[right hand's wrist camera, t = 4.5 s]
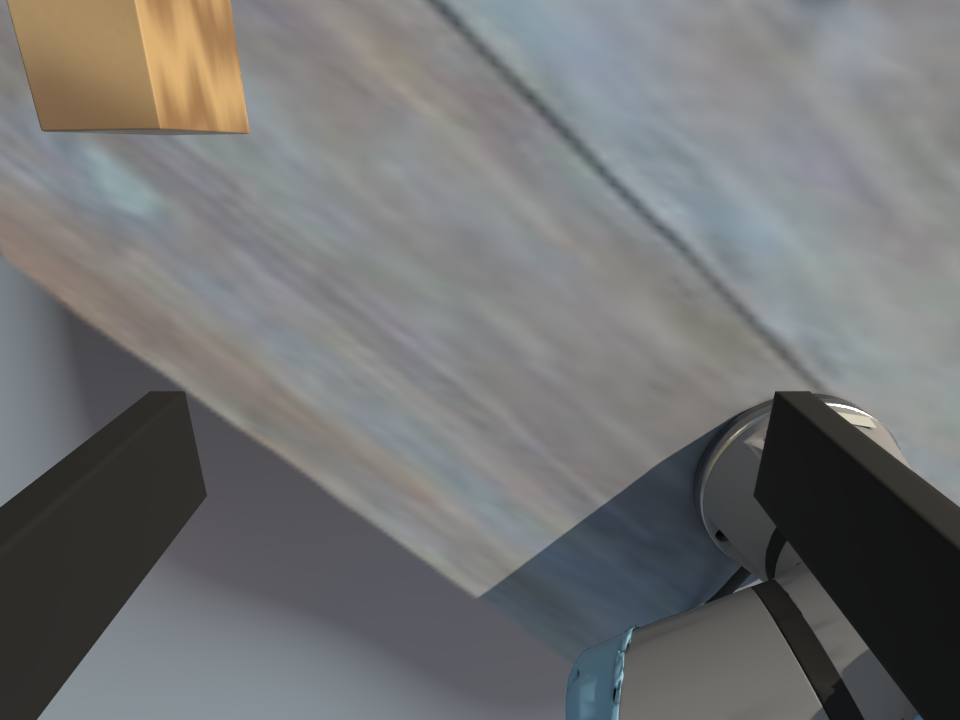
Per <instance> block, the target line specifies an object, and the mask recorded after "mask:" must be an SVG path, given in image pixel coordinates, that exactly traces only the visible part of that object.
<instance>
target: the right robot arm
mask: <svg viewBox="0 0 960 720" xmlns="http://www.w3.org/2000/svg"><path fill="white" fill-rule="evenodd" d="M206 496H207V494H206V489H205V485H204V480H203V476H202V471H201V466H200V461H199V457H198V452H197V447H196V442H195V438H194V433H193V428H192V424H191V419H190V414H189V410H188V405H187V400H186V395H185V391H179V392H178V391H174V392H173V391H163V392H162V391H156V392H155V391H150V392H149V393H148V394H146V395H145V396H144V397H142V398H141V399H140V400H139V401H137V402H136V403H135V404H133V405H132V406H131V407H130V408H128V409H127V410H126V411H124V412H123V413H122V414H120V415H119V416H118V417H117V418H115V419H114V420H113V421H111V422H110V423H109V424H108V425H106V426H105V427H104V428H102V429H101V430H100V431H99V432H97V433H96V434H95V435H93V436H92V437H91V438H89V439H88V440H87V441H86V442H84V443H83V444H82V445H80V446H79V447H78V448H77V449H75V450H74V451H73V452H71V453H70V454H69V455H67V456H66V457H65V458H64V459H62V460H61V461H60V462H58V463H57V464H56V465H55V466H53V467H52V468H51V469H49V470H48V471H47V472H45V473H44V474H43V475H42V476H40V477H39V478H38V479H36V480H35V481H34V482H33V483H31V484H30V485H29V486H27V487H26V488H25V489H24V490H22V491H21V492H20V493H18V494H17V495H16V496H15V497H13V498H12V499H11V500H9V501H8V502H7V503H5V504H4V505H3V506H2V507H0V720H37V719H38V717H39V716H40V715H41V713H42V712H43V711H44V709H45V708H46V707H47V705H48V704H49V703H50V701H51V700H52V699H53V698H54V696H55V695H56V694H57V692H58V691H59V690H60V688H61V687H62V686H63V684H64V683H65V682H66V680H67V679H68V678H69V676H70V675H71V674H72V673H73V671H74V670H75V669H76V667H77V666H78V665H79V663H80V662H81V661H82V659H83V658H84V657H85V655H86V654H87V653H88V651H89V650H90V649H91V648H92V646H93V645H94V644H95V642H96V641H97V640H98V638H99V637H100V636H101V634H102V633H103V632H104V630H105V629H106V628H107V626H108V625H109V624H110V623H111V621H112V620H113V619H114V617H115V616H116V615H117V613H118V612H119V611H120V609H121V608H122V607H123V605H124V604H125V603H126V602H127V600H128V599H129V598H130V596H131V595H132V594H133V592H134V591H135V590H136V588H137V587H138V586H139V584H140V583H141V582H142V580H143V579H144V578H145V576H146V575H147V574H148V573H149V571H150V570H151V569H152V567H153V566H154V565H155V563H156V562H157V561H158V559H159V558H160V557H161V555H162V554H163V553H164V552H165V550H166V549H167V548H168V546H169V545H170V544H171V542H172V541H173V540H174V538H175V537H176V536H177V534H178V533H179V532H180V530H181V529H182V528H183V527H184V525H185V524H186V523H187V521H188V520H189V519H190V517H191V516H192V515H193V513H194V512H195V511H196V509H197V508H198V507H199V505H200V504H201V503H202V502H203V500H204V499H205V498H206ZM694 501H695V506H696V509H697V513H698V515H699V517H700V519H701V521H702V523H703V525H704V526H705V528H706V530H707V532H708V533H709V535H710V537H711V538H712V540H713V541H714V543H715V544H716V545H717V546H718V547H719V548H720V549H721V550H722V551H723V552H724V553H725V554H726V555H728V556H729V557H730V558H732V559H733V560H735V561H736V562H737V563H739V564H740V565H742V566H741V567H740V568H739V570H738V571H737V572H736V573H735V574H734V575H733V576H732V577H731V578H730V579H729V580H728V581H727V582H726V584H725V585H724V586H723V587H722V588H721V589H720V590H719V591H718V592H717V593H716V594H715V595H714V596H713V597H712V598H711V599H709V600H708V601H707V602H706V603H705V604H703V605H701V606H698V607H695V608H692V609H690V610H687V611H684V612H681V613H679V614H676V615H673V616H670V617H667V618H665V619H662V620H659V621H656V622H654V623H651V624H648V625H645V626H642V627H640V628H639V627H638V626H636V625H635V626H631V627H629V628H627V629H626V630H625V632H624V634H621V635H619V636H617V637H614V638H612V639H610V640H608V641H605V642H603V643H601V644H599V645H596V646H594V647H592V648H589V649H588V650H586V651H584V652H583V653H582V654H581V655H580V656H579V657H578V658H577V660H576V661H575V663H574V665H573V667H572V669H571V672H570V675H569V679H568V685H567V695H566V720H960V507H958V506H957V505H956V504H955V503H953V502H952V501H951V500H949V499H948V498H947V497H946V496H944V495H943V494H942V493H940V492H939V491H938V490H936V489H935V488H934V487H933V486H931V485H930V484H929V483H927V482H926V481H925V480H924V479H922V478H921V477H920V476H918V475H917V474H916V473H915V472H913V470H912V469H911V467H910V465H909V464H908V462H907V460H906V459H905V457H904V456H903V454H902V453H901V451H900V448H899V446H898V444H897V442H896V440H895V439H894V437H893V435H892V434H891V433H890V432H889V430H888V429H887V428H886V427H885V426H884V425H883V424H881V423H880V422H879V421H878V420H876V419H875V418H873V417H872V416H871V415H869V414H868V413H866V412H865V411H863V410H862V409H861V408H859V407H857V406H856V405H854V404H852V403H850V402H848V401H845V400H843V399H840V398H837V397H833V396H828V395H822V394H812V393H811V392H810V391H775V395H774V399H772V400H769V401H767V402H764V403H762V404H759V405H757V406H755V407H753V408H751V409H749V410H747V411H745V412H744V413H742V414H741V415H739V416H738V417H736V418H735V419H734V420H732V421H731V422H730V423H729V424H728V425H726V426H725V427H724V428H723V429H722V430H721V431H720V432H719V433H718V434H717V435H716V436H715V438H714V439H713V440H712V442H711V443H710V444H709V446H708V447H707V449H706V450H705V452H704V454H703V456H702V458H701V460H700V463H699V465H698V468H697V471H696V475H695V481H694ZM751 573H752V574H754V575H755V576H756V577H758V578H759V579H760V580H762V581H763V583H760V584H758V585H755V586H752V587H748V588H745V589H743V590H740V591H738V592H735V593H733V592H734V591H735V590H736V589H737V588H738V587H739V586H740V585H741V584H742V583H743V582H744V581H745V580H746V579H747V578H748V576H749V575H750V574H751ZM732 593H733V594H732Z"/></svg>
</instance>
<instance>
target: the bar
mask: <svg viewBox="0 0 960 720" xmlns="http://www.w3.org/2000/svg"><path fill="white" fill-rule="evenodd" d="M7 4H8V8H9V12H10V15H11V19H12V23H13V26H14V30H15V34H16V38H17V41H18V45H19V49H20V52H21V56H22V60H23V63H24V67H25V71H26V75H27V78H28V82H29V86H30V89H31V93H32V97H33V101H34V104H35V108H36V112H37V115H38V119H39V123H40V127H41V130H42V131H45V132H77V133H109V134H141V135H207V134H249V126H248V119H247V112H246V105H245V99H244V92H243V85H242V78H241V72H240V65H239V58H238V51H237V45H236V38H235V31H234V24H233V17H232V11H231V4H230V0H7Z"/></svg>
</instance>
